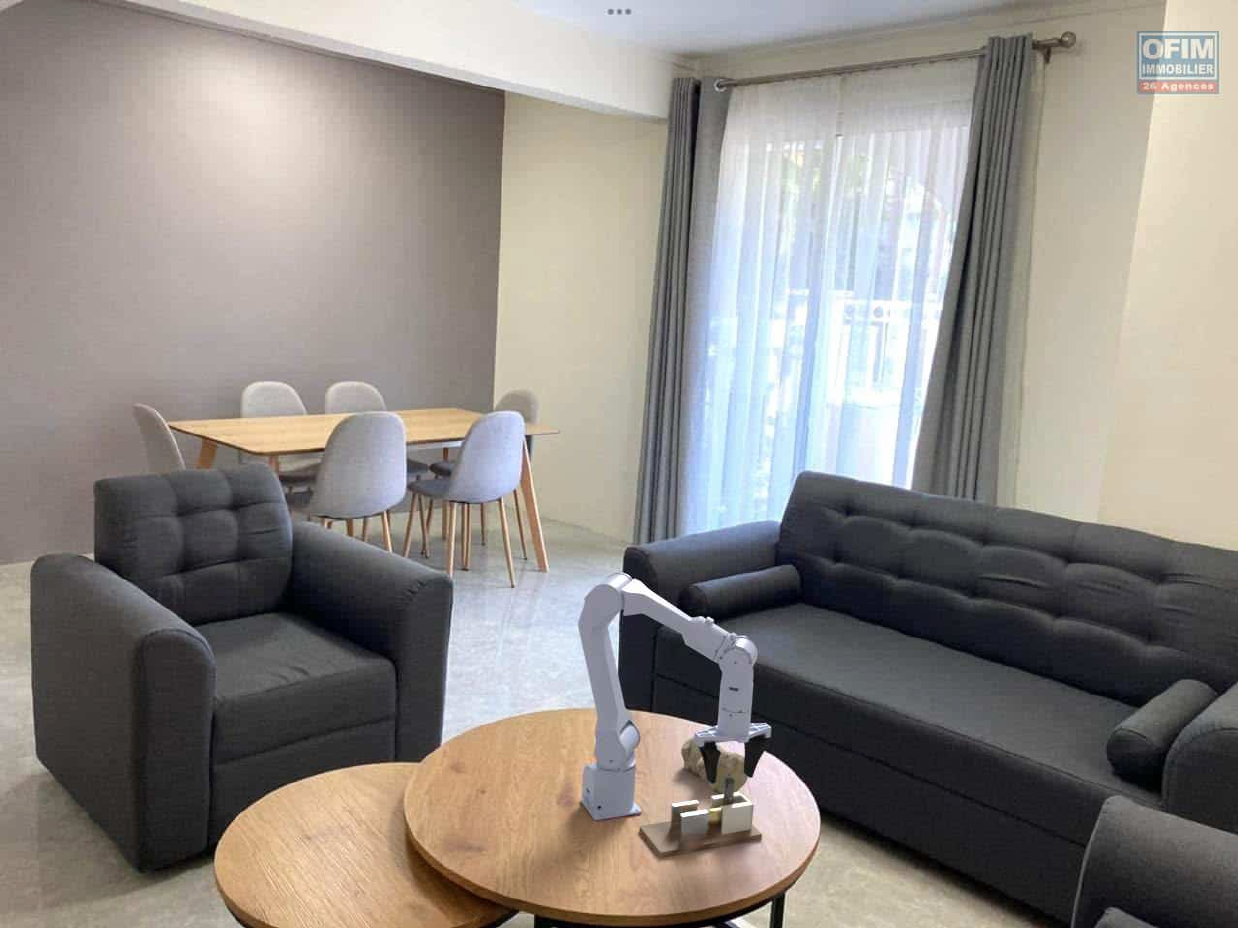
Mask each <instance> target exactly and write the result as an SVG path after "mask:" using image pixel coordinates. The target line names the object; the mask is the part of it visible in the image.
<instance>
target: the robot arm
mask: <svg viewBox="0 0 1238 928" xmlns="http://www.w3.org/2000/svg"><path fill="white" fill-rule="evenodd" d="M621 610H623V614H622V615H623V616H625V617H628V616H632V615H639V614H643V615H645V616H647V617H649V618H651V619H653V620H655V621H656V622H658V623H660V624H662V625H664V626H666V627H668V628H670V629H671V630H672V631H675V632H677V633H680V634H681V635H682V638H683V641H684V644H685V645H686V646H688V647H690V648H691V649H693V650H695V651H696V652H697V653H699V654H701V655H703V656H704V657H706V658H708V660H711V661H713V662H714V663H716V664H718V666H719V669H720V670H721V680H720V686H719V688H720V689H719V702H718V712H717V713H718V714H717V715H718V717H717V725H714V726H712V727H709V728H707V729H702V730H700V731H695V732H694V736H693V737H694V743H695V744H696V745H697V746H698V748H699V750H700V752H701V755H702V758H703V761H704V765H705V770H706V777H707V780H708V781H709V782H710V783H712V784H713V783H715V782H716V776H717V765H718V761H719V757H720V755H721V752H720V751H719V750H718V749H717V746H716V744H720V743H726V742H737V743H739V744H743V745H744V746H743V747H744V749H743V750H744V756H743V757H744V773H745V774H746V775H747V776H748V778H749V779H751V778H753V777H754V774H755V771H756V769H757V767H758V763H759V762H760V759H761V757H762V756H763V755H764V753H765V752H766V751H767V749H768V748H769V741H768V740H767V738H768V739H769V738H771V736H772V734H771V733H772V727H771V725H769V724H767V722H765V723H762V722H761V723H751V717H752V716H751V715H752V708H753V707H752V705H753V691H754V681H753V680H754V671H755V670H754V668H753V667H754V666H755V663H756V662H757V659H758V654H759V652H758V649H757V645H756V644H755V643H754V641H752V640H751V639H750V638H749V637H748V636H745V635H737V633H735V632H732V633H731V632H729V631H727V630H725V629H724V628H722V627H720V626H719V625H717V624H715V623H714V622H715V620H714V618H711V617H710V616H707V617H706V618H705V617H704V616H703V615H702V616H695V617H691V616H689V615H688V614H686V613H685V612H683V611H682V610H681V609H680V608H679V609H678V608H677V606H675V605H673V604H671V603H670V602H669V601H667V600H665V599H664V598H663V597H661V596H660V595H658V594H656V593H655V592H653V591H652V590H651V589H650V588H648V587H647V586H646V585H645V584H644V583H643V582H642V581H640V580H639V579H636V578H634V579H633V578H632V576H630V575H629V574H627V573H624V572H621V571H619V572H614V573H612V574H610V575H609V576H607V578H606V579H604V580H603V581H602V582H601V583H600V584H597V585H596V586H594V587H593V588H592V589H591V590H590V591H589V592H588V593H587V594H586V596H585V597H584V604H583V607H582V611H581V613H580V616H579V619H578V623H577V627H578V631H579V632H578V633H579V637H580V642H581V645H582V650H583V655H584V659H585V660H584V661H585V665H586V668H587V669H586V670H587V674H588V678H589V684H590V687H591V692H592V697H593V701H594V707H595V710H596V714H597V715H596V716H597V718H596V719H597V720H596V725H595V730H594V737H595V744H594V749H593V754H594V755H593V756H594V757H595V760H596V761H594V762H592V763H590V764H586V765H585V766H584V767H583V772H582V785H581V786H582V789H581V797H580V799H579V801H580V802H581V804H583V805H582V806H583V807H585V809H586V810H587V812H588V813H589V815H590V816H591V817H592V819H593V820H594V821H600V820H606V819H611V818H612V819H613V818H619V817H625V816H626V817H627V816H631V815H636V814H641V813H642V809H641V808H640V806H639V805H638V803H636V802H635V790H636V789H635V788H636V786H635V785H636V770H637V759H636V755H635V750H636V749H637V748H638V746H639V745H640V744H641V741H642V740H641V735H642V734H641V730H640V729H639V727H638V725H637V724H636V723H635V722H634V719H633V716H632V712H630V711H629V710H628V708H626V706H625V705H626V704H625V701H624V697H623V691H622V687H621V682H620V678H619V673H618V669H617V665H616V660H615V656H614V650H613V645H612V641H611V637H610V631H609V626H610V625H611V623H612V622H613V620H614V619H615V618H616V617H617V615H618V614H619V613H620V612H621Z"/></svg>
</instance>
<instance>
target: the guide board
mask: <svg viewBox="0 0 1238 928" xmlns="http://www.w3.org/2000/svg"><path fill="white" fill-rule="evenodd" d="M699 806H700V802H699V801H698V799H695V800H688V801H683V802H677V803H671V807H670V808H671V809H670V820H668V821H663V822H657V823H650V824H645V825H639V831H638V832H639V833H640V834H641V835H642V837H643V839H645V841H647V843H648V844H649V845H650V847H651V848H652V849H653V851H654V852H655V853H656V854H657V855H658V857H659V858H660V859H662V858H666V857H671V856H672V857H673V856H676V855H677V856H678V855H683V854H688V853H694V852H699V851H704V850H710V849H715V848H716V849H717V848H721V847H726V846H733V845H737V844H743V843H748V842H754V841H759V840H763V833H762V832H761V831H760V830H758V829H759V828H756V826H754V824H753V823H752V829H750V830H745V831H739V832H734V833H728V834H721V825H722V823H720V824H714V825H708V811H707V810H703V809H700V810H701V811H697V810H698V807H699ZM691 811H695V812H691ZM686 812H689V813H686Z"/></svg>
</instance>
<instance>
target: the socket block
mask: <svg viewBox="0 0 1238 928" xmlns="http://www.w3.org/2000/svg"><path fill="white" fill-rule="evenodd" d="M723 798H724V794H721V795H719V794H716V795H711V796H710V806H709V808H715V807H721V810H722V811H723V812H722V825H721V834H728V833H734V832H739V831H745V830H750V829H752V824H753V819H754V817H753V816H754V803H753V802H752V801H751V800H749V798H747V797H746V796H745V795H744V794H743V793H742V792H741V791H737V792H734V799H733V804H731V805H725V806H723Z"/></svg>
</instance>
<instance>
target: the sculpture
mask: <svg viewBox="0 0 1238 928" xmlns="http://www.w3.org/2000/svg"><path fill="white" fill-rule="evenodd" d="M716 746H717V749H718V750H719V751H720V752H721V755H720V757H719V761H718V765H717V776H716V782H715V783H713V784H712V783H710V782H709V781H708V780H707V777H706V770H705V765H704V761H703V758H702V755H701V752H700V750H699V748H698V746H697V745H696V744H695V743H694V736H693V737H690V738H689V739H687V740H686V741H685V742H684V743H683V744H682V745H681V749H680V753H681V758H682V760H683V767H684V768H685V769H686V770H688V771H690V772H692V773H693V774H695V775H699V776H700V778H702V779H703V780H704V781H705V782H706V783H707V784H709V785H710V787H711V790H712V791H714V792H715V793H716V794H717V795H721V794H724V784H725V778H726V777H727V776H732V777H733V778H734V780H735V786H734V792H739V791H740V790H741V788H743V787H744V786H745V784H747V781H748V778H749V777H748V776H747V775H746V774H745V773H744V757H745V756H744V755H741V754H740V753H737V752H731V751H726V750H725V749H723V748H722V747H721V746H720V745H718V743H716Z"/></svg>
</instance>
